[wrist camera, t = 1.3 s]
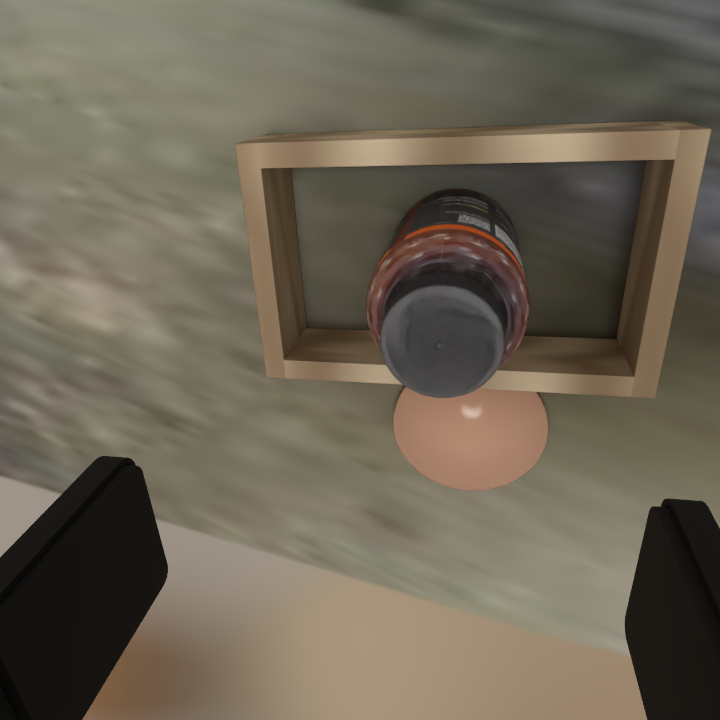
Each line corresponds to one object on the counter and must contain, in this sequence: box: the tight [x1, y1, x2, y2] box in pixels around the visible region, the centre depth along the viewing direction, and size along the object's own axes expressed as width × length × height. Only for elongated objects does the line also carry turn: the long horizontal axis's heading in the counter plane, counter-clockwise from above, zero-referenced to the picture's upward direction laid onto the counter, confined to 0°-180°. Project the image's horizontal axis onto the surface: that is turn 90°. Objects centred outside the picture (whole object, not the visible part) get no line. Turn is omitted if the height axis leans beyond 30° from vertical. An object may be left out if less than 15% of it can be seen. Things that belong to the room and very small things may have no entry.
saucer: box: [393, 387, 548, 490], centre depth 32 cm, size 8×8×1 cm
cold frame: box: [235, 120, 711, 398], centre depth 26 cm, size 18×11×4 cm, turn 93°
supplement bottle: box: [366, 189, 530, 398], centre depth 23 cm, size 6×6×11 cm
